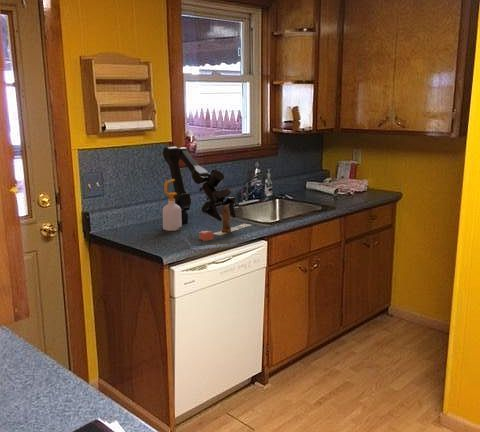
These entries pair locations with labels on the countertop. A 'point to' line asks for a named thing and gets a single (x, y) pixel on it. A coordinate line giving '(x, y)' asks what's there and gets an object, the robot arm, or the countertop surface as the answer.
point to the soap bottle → (171, 212)
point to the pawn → (226, 219)
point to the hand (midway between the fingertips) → (228, 219)
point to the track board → (232, 229)
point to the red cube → (206, 235)
